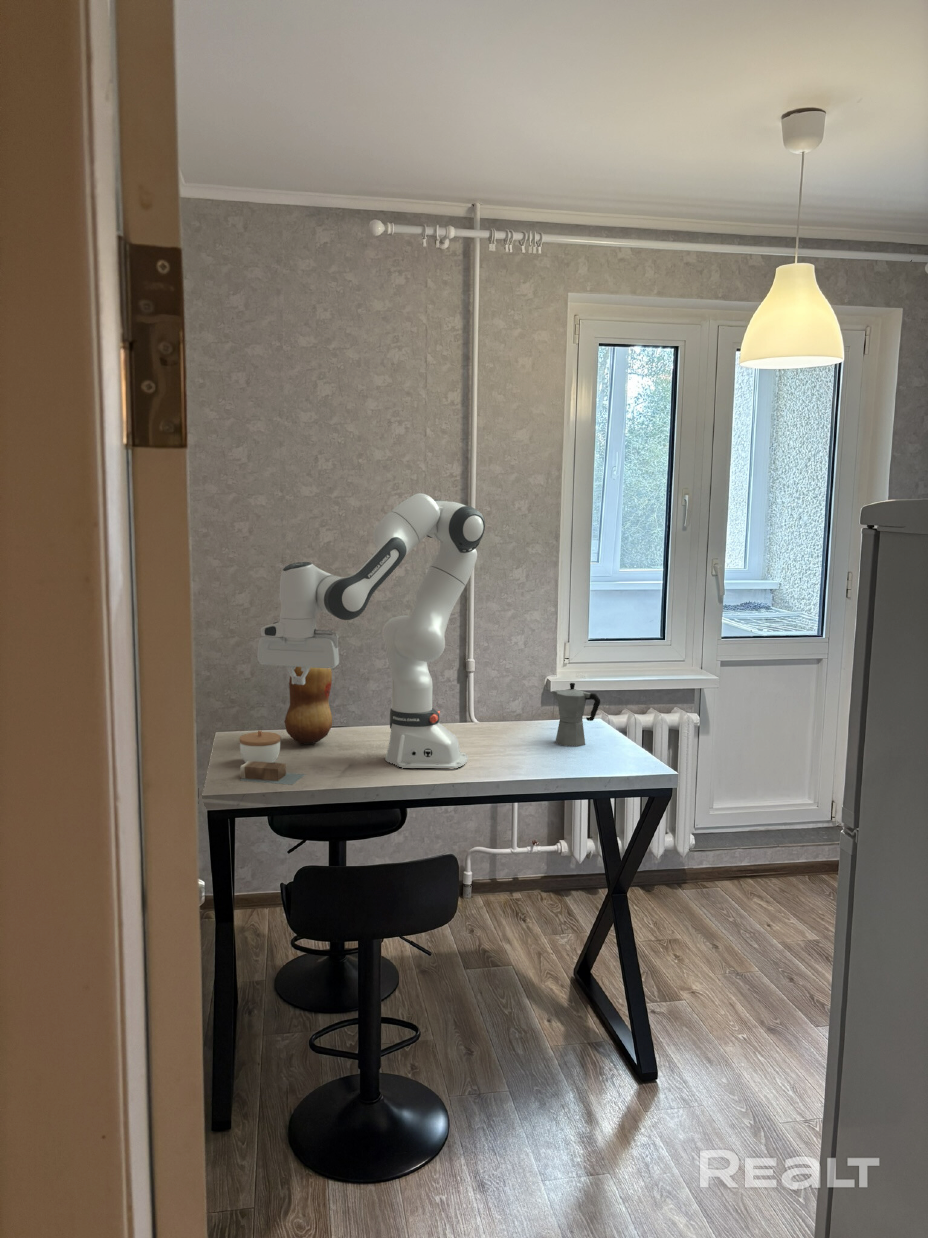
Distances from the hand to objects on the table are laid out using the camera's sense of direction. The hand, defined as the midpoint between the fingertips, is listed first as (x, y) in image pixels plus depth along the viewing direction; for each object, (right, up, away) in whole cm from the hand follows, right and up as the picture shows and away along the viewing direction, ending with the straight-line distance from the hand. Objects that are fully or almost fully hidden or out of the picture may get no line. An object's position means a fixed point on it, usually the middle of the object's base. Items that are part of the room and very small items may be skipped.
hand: (298, 684), depth 230 cm
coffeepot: (+73, -21, +45) cm, 89 cm away
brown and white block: (-5, -22, +4) cm, 23 cm away
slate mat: (-7, -25, +5) cm, 26 cm away
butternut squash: (-4, -20, +40) cm, 45 cm away
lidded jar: (-13, -23, +17) cm, 32 cm away
